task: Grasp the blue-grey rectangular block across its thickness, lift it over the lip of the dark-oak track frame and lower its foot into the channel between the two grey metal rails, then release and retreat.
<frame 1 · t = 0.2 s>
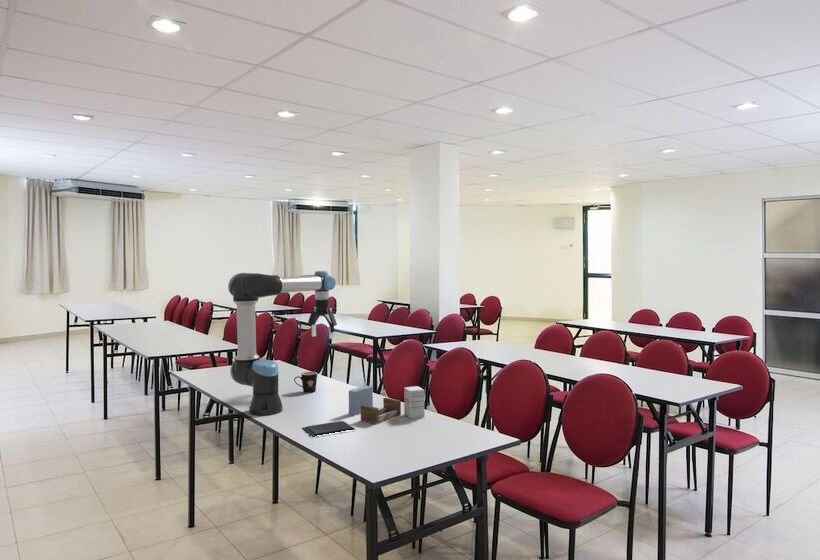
hand: (322, 337, 308), 28 cm above the table, fingers open, 13 cm apart
supplement box: (414, 416, 253), on the table
track frame: (381, 417, 250), on the table
blue-grey rectangular block: (361, 411, 260), on the table
coffee mug: (306, 392, 300), on the table
wallet: (328, 431, 234), on the table
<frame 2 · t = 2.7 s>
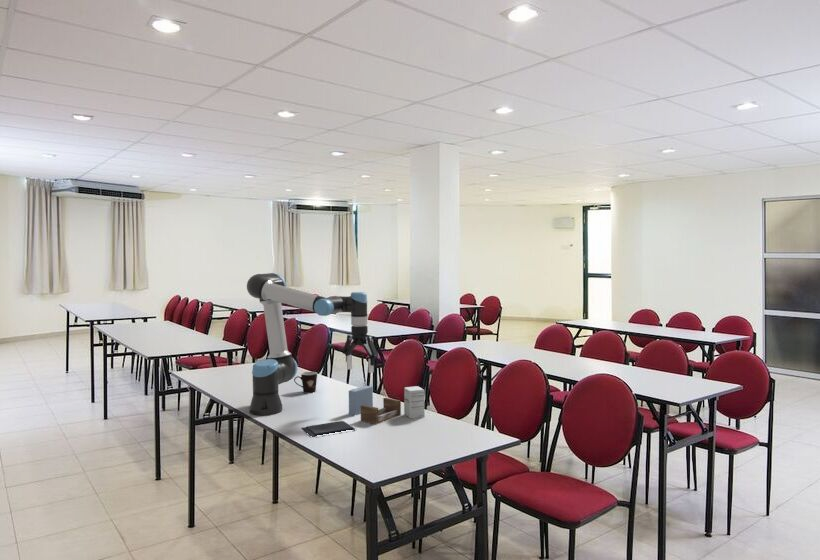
hand: (360, 370, 260), 19 cm above the table, fingers open, 13 cm apart
nothing on the table moved.
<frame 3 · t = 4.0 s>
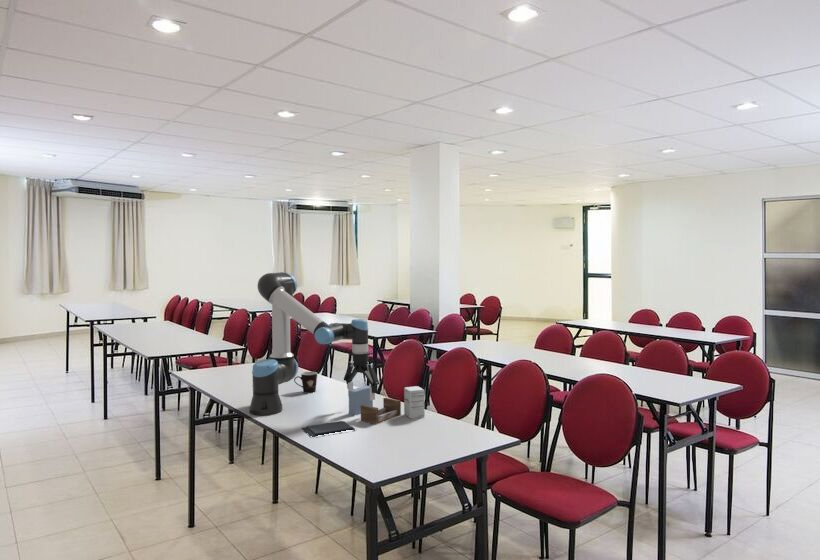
hand: (361, 397, 260), 7 cm above the table, fingers open, 13 cm apart
nothing on the table moved.
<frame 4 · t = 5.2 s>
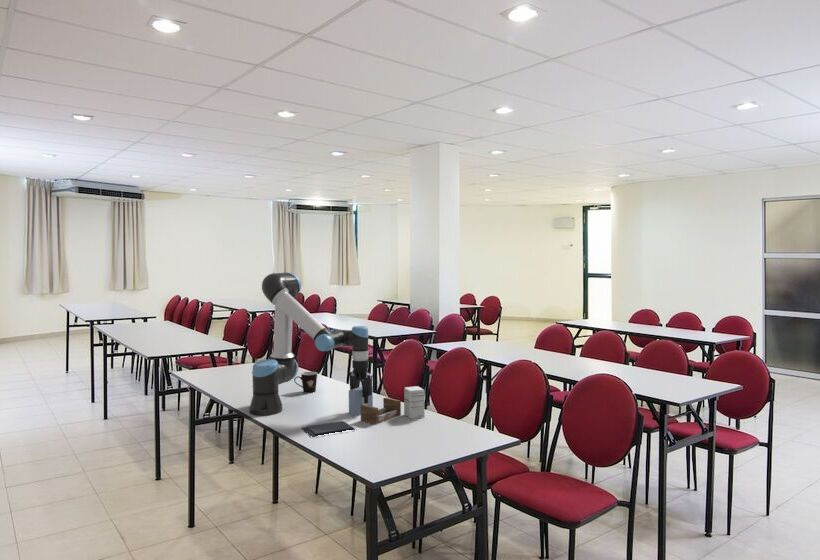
hand: (361, 409, 260), 1 cm above the table, fingers closed on blue-grey rectangular block, 4 cm apart
blue-grey rectangular block: (361, 411, 260), on the table, touching gripper
everything else where it was.
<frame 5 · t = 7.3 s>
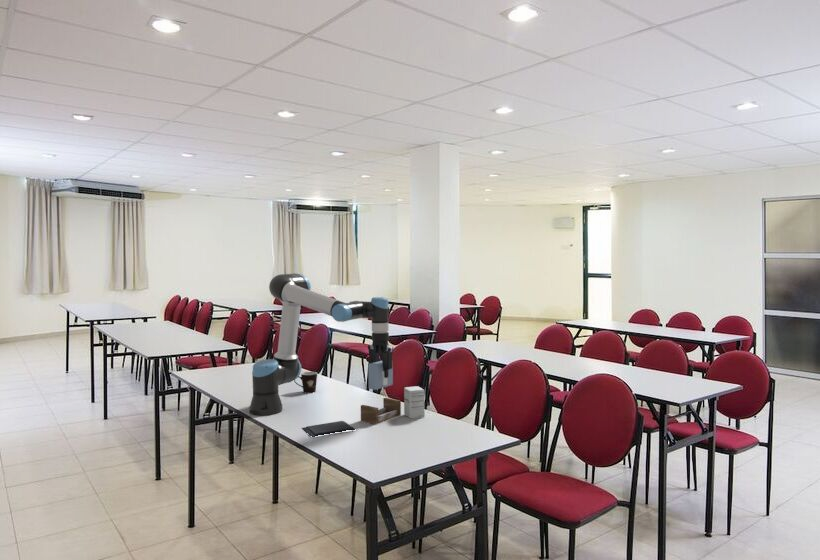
hand: (380, 383, 249), 15 cm above the table, fingers closed on blue-grey rectangular block, 4 cm apart
blue-grey rectangular block: (380, 386, 249), point 14 cm above the table, touching gripper
everything else where it was.
when the fingers open (3 cm above the table, at t = 9.2 s): blue-grey rectangular block drops 1 cm, resting on track frame.
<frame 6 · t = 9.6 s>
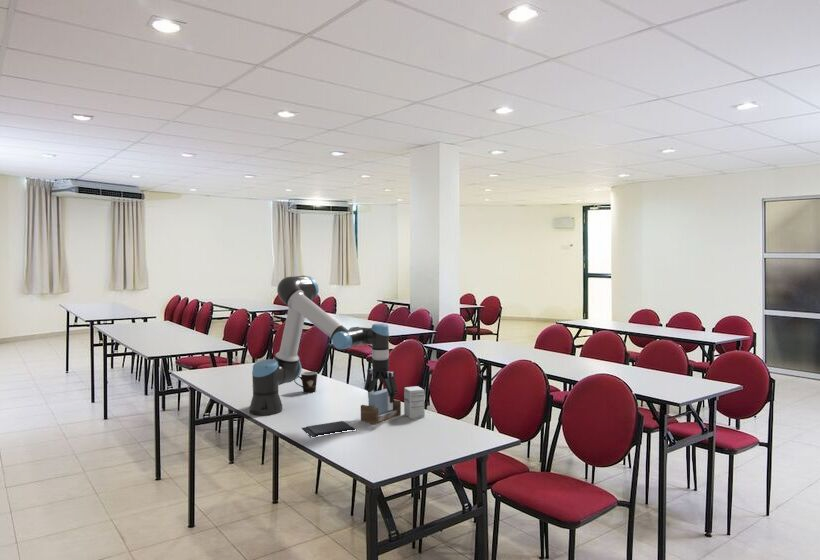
hand: (380, 407, 250), 5 cm above the table, fingers open, 10 cm apart
blue-grey rectangular block: (380, 416, 250), point 1 cm above the table, touching track frame
everything else where it was.
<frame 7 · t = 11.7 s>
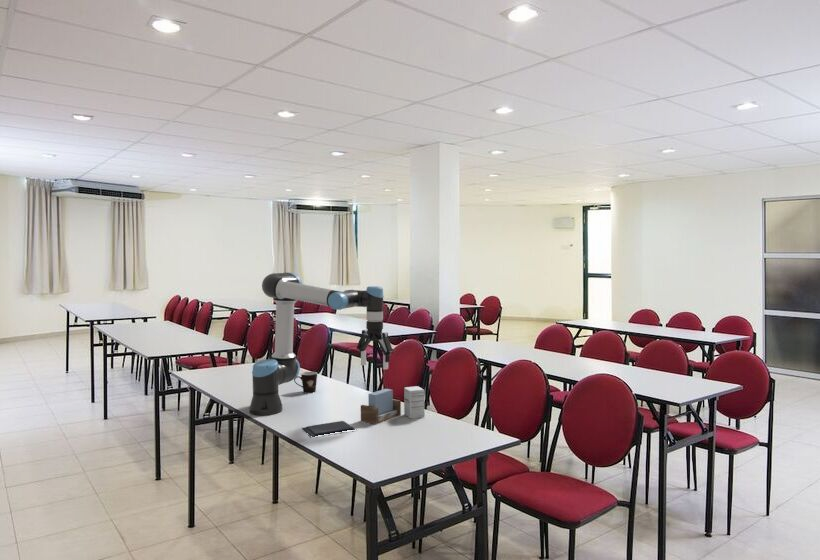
hand: (374, 367, 253), 22 cm above the table, fingers open, 13 cm apart
nothing on the table moved.
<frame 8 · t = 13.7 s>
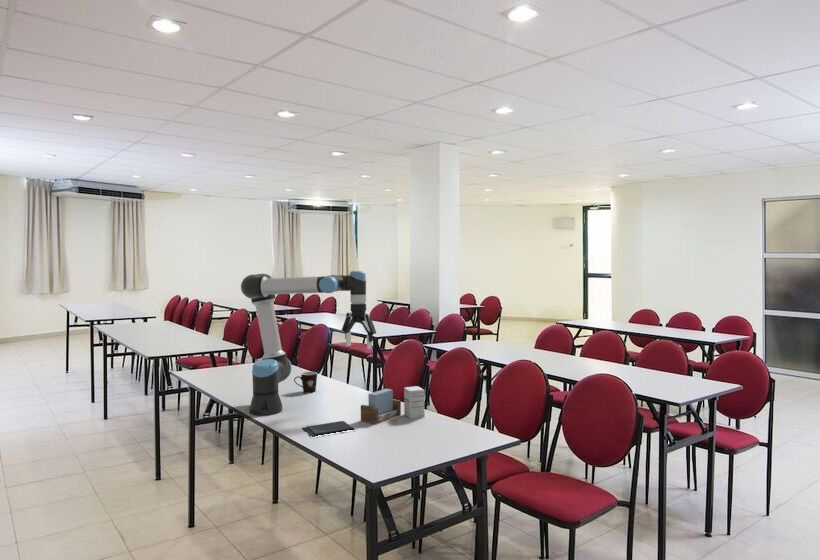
hand: (358, 347, 268), 29 cm above the table, fingers open, 13 cm apart
nothing on the table moved.
at the end: blue-grey rectangular block 0.1 cm off-centre on the track frame, point 0.8 cm above the track frame's base; blue-grey rectangular block tilted 0°; the gripper is holding nothing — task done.
